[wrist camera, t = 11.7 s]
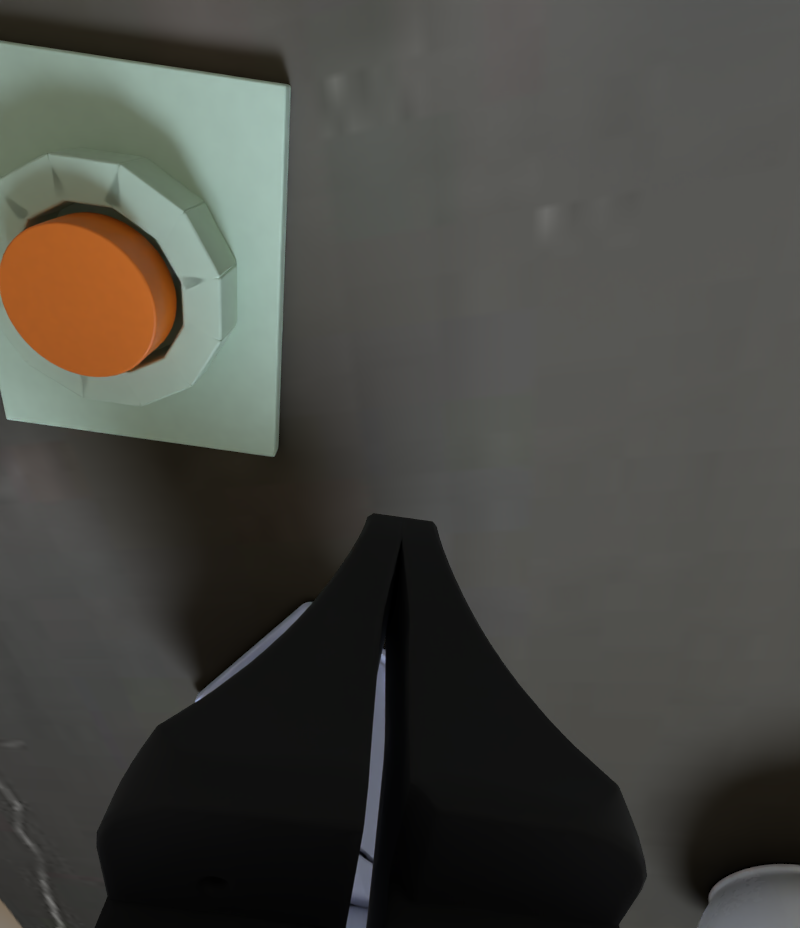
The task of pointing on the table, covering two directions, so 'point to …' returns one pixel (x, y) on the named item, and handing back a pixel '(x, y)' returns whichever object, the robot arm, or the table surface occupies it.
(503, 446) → the table surface
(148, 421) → the button block
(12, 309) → the button
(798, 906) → the lidded bowl
